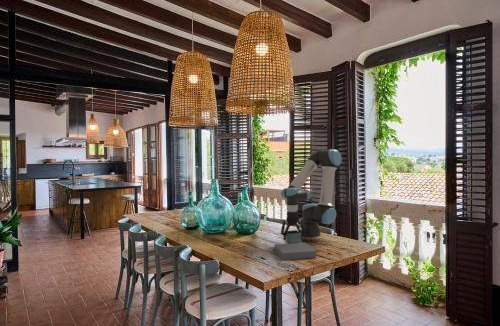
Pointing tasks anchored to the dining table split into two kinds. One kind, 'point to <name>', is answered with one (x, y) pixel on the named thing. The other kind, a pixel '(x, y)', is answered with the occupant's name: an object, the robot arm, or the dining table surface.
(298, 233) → the flower pot
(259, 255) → the dining table surface
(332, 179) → the robot arm
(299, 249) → the plinth
